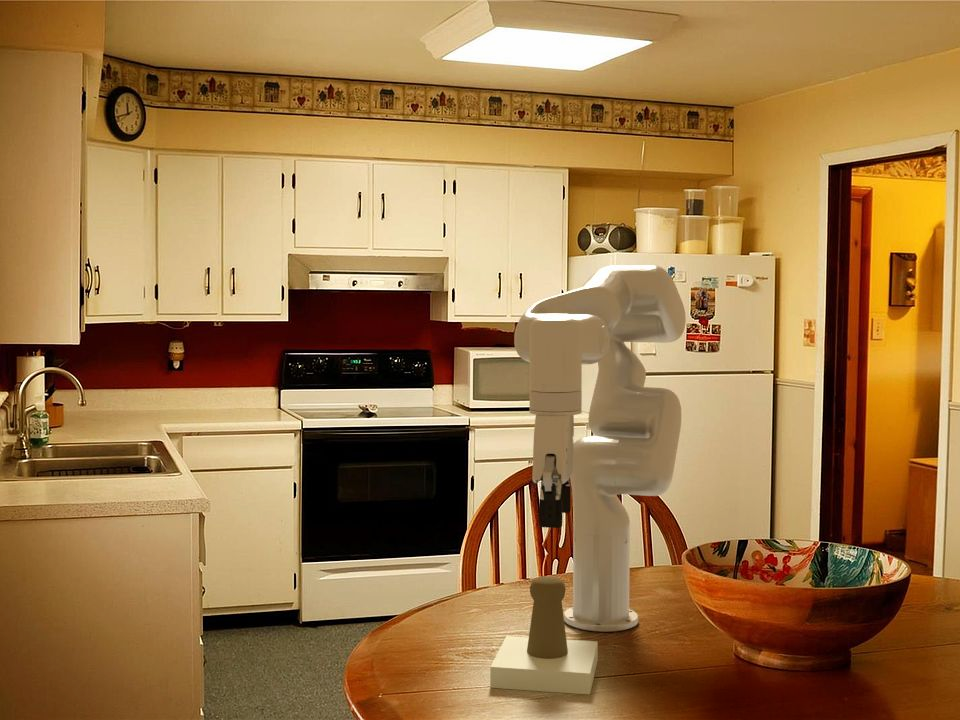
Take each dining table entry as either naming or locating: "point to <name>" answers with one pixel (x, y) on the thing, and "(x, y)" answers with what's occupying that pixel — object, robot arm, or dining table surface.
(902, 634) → the dining table surface
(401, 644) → the dining table surface
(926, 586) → the dining table surface
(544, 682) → the cream block
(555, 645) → the cork
